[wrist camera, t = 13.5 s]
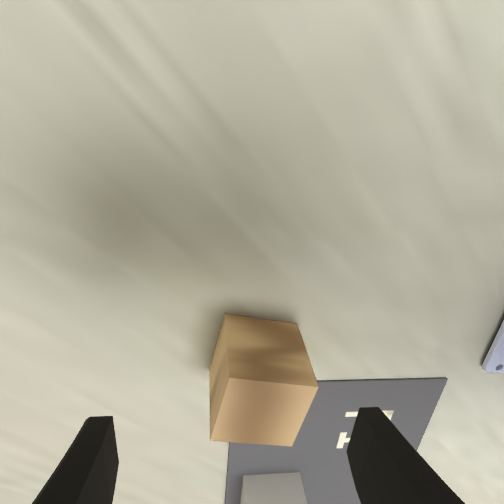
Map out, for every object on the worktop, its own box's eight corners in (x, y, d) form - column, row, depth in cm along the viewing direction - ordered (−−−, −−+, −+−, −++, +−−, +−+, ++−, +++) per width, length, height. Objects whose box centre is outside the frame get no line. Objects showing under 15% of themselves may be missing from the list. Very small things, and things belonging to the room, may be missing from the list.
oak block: (297, 323, 23) (318, 387, 18) (276, 376, 25) (291, 446, 20) (224, 312, 22) (229, 377, 18) (209, 369, 24) (210, 440, 19)
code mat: (446, 377, 26) (447, 379, 26) (393, 501, 33) (394, 503, 33) (233, 383, 24) (234, 384, 24) (224, 513, 31) (224, 515, 31)
